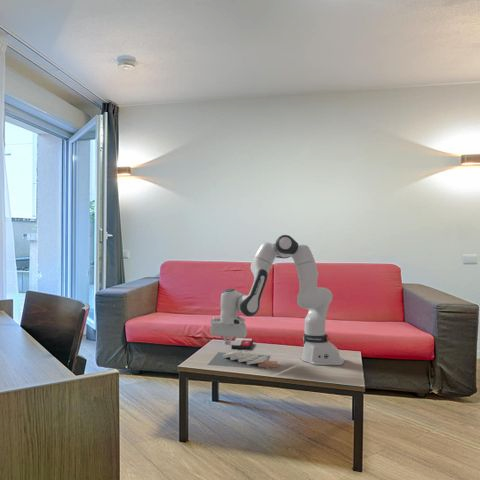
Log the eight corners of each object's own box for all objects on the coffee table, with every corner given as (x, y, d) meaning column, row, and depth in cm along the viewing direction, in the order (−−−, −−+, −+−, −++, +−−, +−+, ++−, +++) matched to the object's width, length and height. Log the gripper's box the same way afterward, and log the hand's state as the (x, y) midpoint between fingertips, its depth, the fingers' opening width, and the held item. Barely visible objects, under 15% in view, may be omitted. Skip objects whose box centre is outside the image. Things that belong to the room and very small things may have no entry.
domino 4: (246, 361, 196) (261, 358, 190) (251, 358, 200) (266, 355, 194) (247, 364, 195) (262, 361, 190) (252, 361, 199) (267, 358, 194)
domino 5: (258, 363, 192) (278, 363, 192) (257, 360, 197) (277, 360, 197) (258, 366, 192) (278, 367, 192) (257, 363, 197) (277, 363, 197)
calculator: (231, 344, 224) (235, 337, 239) (231, 351, 224) (235, 343, 239) (249, 345, 222) (253, 337, 237) (249, 352, 223) (253, 344, 237)
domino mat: (270, 356, 212) (270, 355, 212) (265, 370, 189) (265, 369, 189) (218, 353, 217) (218, 352, 217) (207, 365, 195) (207, 364, 195)
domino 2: (229, 357, 203) (243, 354, 197) (236, 355, 207) (249, 352, 201) (230, 360, 203) (244, 357, 196) (236, 358, 206) (250, 355, 200)
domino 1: (222, 355, 207) (235, 352, 200) (228, 353, 210) (241, 351, 204) (223, 358, 206) (236, 356, 200) (229, 356, 210) (242, 354, 204)
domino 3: (237, 359, 199) (251, 356, 193) (243, 357, 203) (257, 354, 197) (238, 362, 199) (252, 359, 193) (244, 360, 203) (258, 357, 197)
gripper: (208, 318, 208) (208, 344, 208) (244, 321, 201) (243, 347, 201) (213, 316, 214) (212, 341, 214) (247, 319, 207) (247, 344, 207)
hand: (228, 344), depth 207 cm, fingers closed
